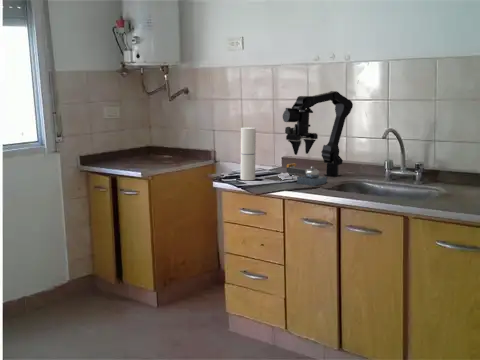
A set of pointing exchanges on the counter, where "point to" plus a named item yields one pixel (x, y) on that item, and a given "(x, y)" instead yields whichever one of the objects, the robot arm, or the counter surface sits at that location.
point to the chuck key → (292, 167)
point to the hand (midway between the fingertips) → (301, 154)
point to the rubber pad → (274, 178)
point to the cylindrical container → (248, 153)
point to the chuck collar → (304, 171)
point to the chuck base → (311, 180)
